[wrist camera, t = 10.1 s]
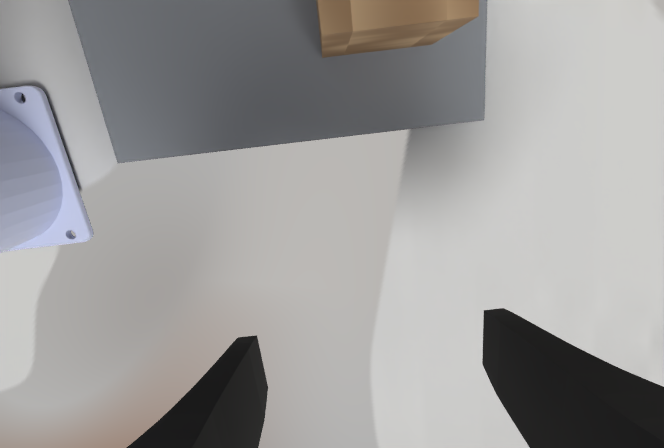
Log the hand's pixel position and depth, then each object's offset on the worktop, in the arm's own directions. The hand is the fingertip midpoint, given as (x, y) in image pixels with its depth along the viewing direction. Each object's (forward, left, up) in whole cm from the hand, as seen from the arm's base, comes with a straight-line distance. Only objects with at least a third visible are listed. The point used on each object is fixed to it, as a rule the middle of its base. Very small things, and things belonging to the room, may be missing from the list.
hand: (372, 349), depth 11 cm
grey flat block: (-2, +12, -9) cm, 15 cm away
